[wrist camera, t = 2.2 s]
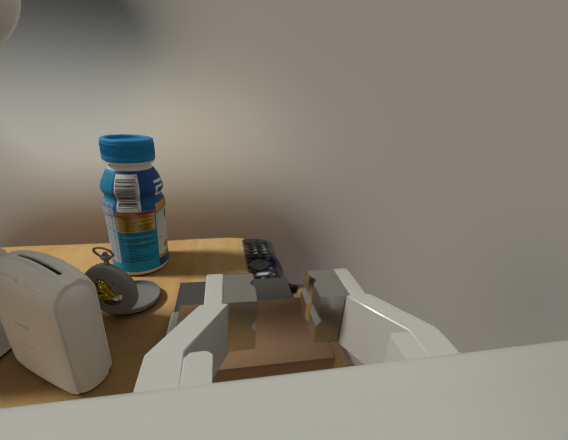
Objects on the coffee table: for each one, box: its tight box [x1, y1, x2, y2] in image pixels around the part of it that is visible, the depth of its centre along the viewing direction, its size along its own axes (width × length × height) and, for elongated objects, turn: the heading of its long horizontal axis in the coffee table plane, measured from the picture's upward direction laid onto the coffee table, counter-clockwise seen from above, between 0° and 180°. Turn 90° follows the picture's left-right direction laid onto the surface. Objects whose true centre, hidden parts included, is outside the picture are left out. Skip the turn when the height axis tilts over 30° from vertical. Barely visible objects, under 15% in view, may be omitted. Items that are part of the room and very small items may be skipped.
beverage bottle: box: [99, 134, 169, 275], centre depth 44 cm, size 8×8×20 cm
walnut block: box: [176, 298, 335, 383], centre depth 22 cm, size 6×10×10 cm, turn 101°
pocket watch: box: [85, 247, 160, 315], centre depth 36 cm, size 8×8×10 cm
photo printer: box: [0, 250, 112, 395], centre depth 27 cm, size 10×4×12 cm, turn 67°
